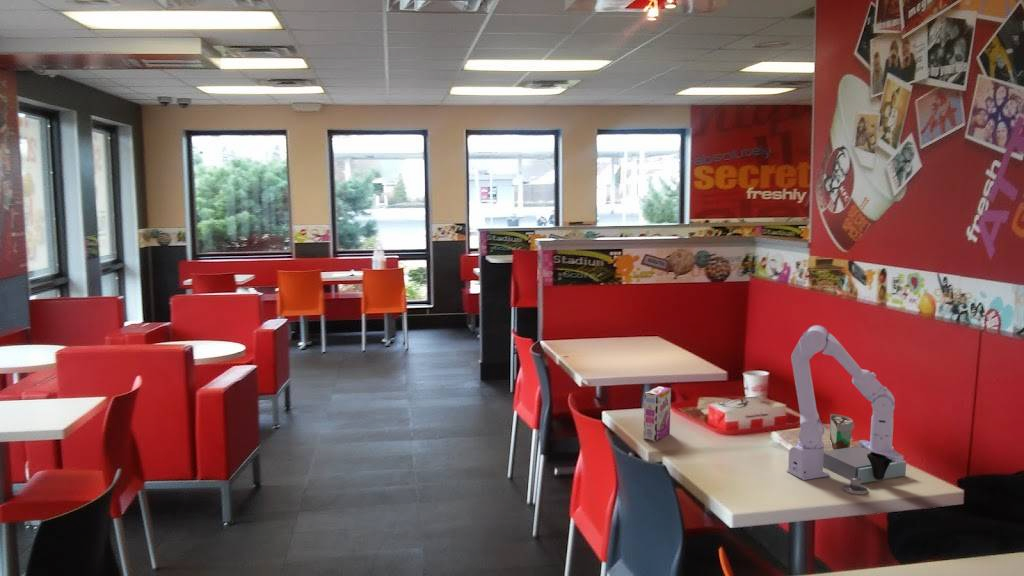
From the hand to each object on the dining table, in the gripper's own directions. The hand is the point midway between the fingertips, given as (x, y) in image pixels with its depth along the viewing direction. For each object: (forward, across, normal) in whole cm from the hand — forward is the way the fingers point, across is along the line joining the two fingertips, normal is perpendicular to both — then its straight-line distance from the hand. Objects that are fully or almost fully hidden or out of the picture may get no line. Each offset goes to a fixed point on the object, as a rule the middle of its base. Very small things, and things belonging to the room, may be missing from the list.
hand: (878, 478), depth 229 cm
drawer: (+1, +8, -3) cm, 9 cm away
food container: (+2, +26, -11) cm, 29 cm away
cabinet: (+1, +10, -3) cm, 11 cm away
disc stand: (+1, -2, +10) cm, 10 cm away
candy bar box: (+2, +59, +38) cm, 71 cm away
